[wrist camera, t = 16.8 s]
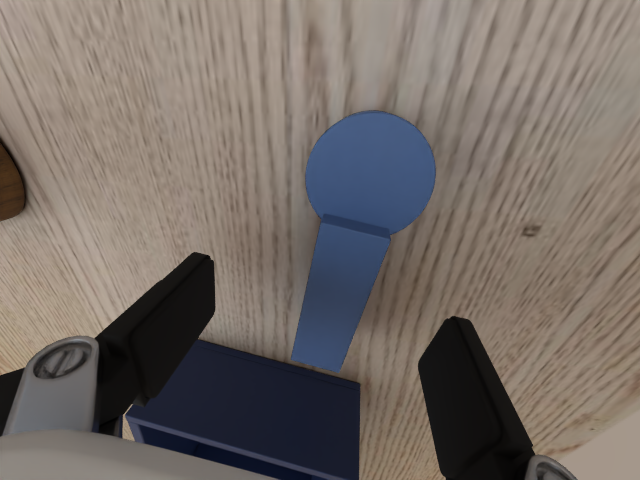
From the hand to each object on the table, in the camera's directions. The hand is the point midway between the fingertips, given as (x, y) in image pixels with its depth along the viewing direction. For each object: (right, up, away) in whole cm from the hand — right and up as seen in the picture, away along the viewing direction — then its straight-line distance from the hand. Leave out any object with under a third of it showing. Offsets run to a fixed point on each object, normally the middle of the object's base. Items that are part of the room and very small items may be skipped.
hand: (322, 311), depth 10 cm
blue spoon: (+1, +3, +2) cm, 3 cm away
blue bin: (-5, -12, +10) cm, 16 cm away
